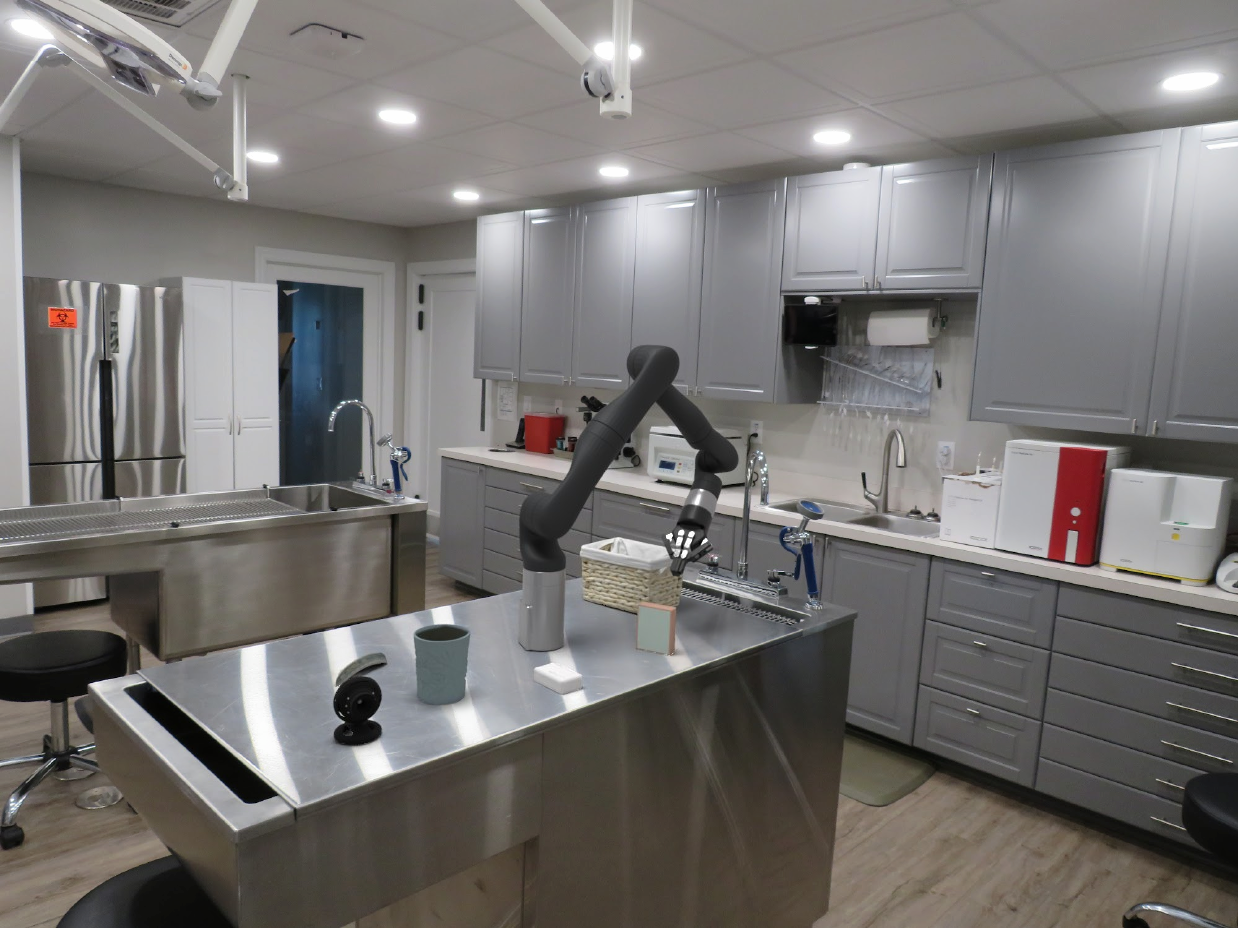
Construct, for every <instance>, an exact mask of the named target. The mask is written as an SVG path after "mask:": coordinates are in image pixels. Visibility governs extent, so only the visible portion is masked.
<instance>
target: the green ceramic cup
mask: <svg viewBox="0 0 1238 928" xmlns="http://www.w3.org/2000/svg"><path fill="white" fill-rule="evenodd" d="M470 639H471V630H470V629H469V628H467V627H465V626H463V625H458V624H450V623H449V624H447V623H441V624H440V623H439V624H438V623H437V624H430V625H426V626H423V627H420V628H418V629H416V630H415V631H414V632H413V644H414V645H413V646H414V653H415V659H414V661H415V674H416V690H417V691H416V693H417V698H418V700H419V701H421V702H423V703H424V704H427V705H432V706H433V705H434V706H441V705H443V706H445V705H450V704H455V703H457V702H460V701H461V700H462V699H463V698H464V697H465V695H466V686H467V685H466V684H467V680H466V677H467V673H468V663H469V660H468V657H469V647H470V642H471V640H470Z"/></svg>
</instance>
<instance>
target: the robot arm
mask: <svg viewBox="0 0 1238 928" xmlns="http://www.w3.org/2000/svg"><path fill="white" fill-rule="evenodd" d="M680 363H681V361H680V357H679V354H678V352H677V351H676V349H674V348H673V347H670V346H668V345H667V346H666V345H659V344H640V345H638V346H635V347H634V348H633V349H632V350H630V351H629V353H628V354H627V358H626V370H627V372H628V375H629V377H630V378H631V379H632V381H633V382H632V383H631V384H630V386H629V387H628V388H627V389H626V390H625V391H624V392H622V394H619V396H616V398H614V399H613V400H612V401H610V402H609V403H608V404H606V405H604V407H602V408H601V409H600V410H599V411H597V412H596V413H595V414H594V415H593V417H592V418H591V419H590V421H589V422H588V423H587V425H586V426H585V427H584V429H583V430H582V431H581V434H580V435H579V436H578V438H577V441H576V443H575V445H574V450H573V453H572V459H571V460H572V461H571V463H570V466H569V469H568V472H567V474H566V475H565V477H564V478H563V479H562V480H561V483H560V484H559V485H558V487H557V488H556V489H555V490H554V491H553V492H552V493H549V492H545V491H536V492H532V493H530V494H529V495H528V496H526V498H524V500H523V502H522V503H521V507H520V511H519V519H518V523H519V524H518V525H519V528H518V529H519V530H518V531H519V532H518V533H519V534H518V535H519V539H518V540H519V552H520V555H521V559H522V595H521V596H522V597H521V599H519V601H518V602H519V603H518V641H517V642H518V643H519V644H520V645H521V647H523V649H525V651H537V652H538V651H541V652H543V651H544V652H547V651H554V650H558V649H561V648H562V647H563V646H564V642H565V641H564V640H565V613H566V612H565V611H566V609H565V608H566V607H565V606H566V576H567V575H566V572H567V571H566V570H567V557H566V556H567V555H566V554H565V552H564V551H563V550H562V548H561V547H560V544H559V539H560V538H563V537H564V536H566V534H567V533H569V532H570V531H571V529H572V527H573V526H574V525H575V522H576V521H577V519H578V517H579V516H580V514H581V511H582V510H583V509H584V506H585V505H586V503H587V500H588V499H589V497H590V496H591V494H592V493H593V491H594V489H595V487H596V486H597V485H598V483H599V482H600V480H601V479H602V477H603V476H604V474H605V473H606V472H607V470H608V469H609V467H610V466H611V464H612V463H613V462H614V460H616V458H617V456H618V455H619V453H620V452H621V451H622V450H623V448H624V446H625V445H626V444H627V442H628V440H629V438H630V437H631V436H632V434H633V433H634V431H635V430H636V428H637V427H638V426H639V425H640V423H641V422H642V420H643V419H644V417H645V416H646V415H647V413H648V412H649V410H650V409H651V408H652V407H653V405H654V404H657V406H658V407H659V408H660V409H661V410H662V411H663V412H664V413H665V415H666V416H667V417H668V418H669V419H670V421H671V422H672V423H673V424H674V426H675V427H676V428H677V430H678V431H679V433H680V434H681V435H682V437H683V438H684V440H685V442H687V444H688V445H689V446H690V447H691V448H692V449H693V450H696V451H698V452H697V453H696V454H695V458H694V475H693V482H692V483H691V484H692V485H691V487H690V490H689V492H688V494H687V496H686V498H685V500H684V502H683V505H682V508H681V510H680V514H679V516H678V518H677V521H676V526H675V527H674V528H673V529H672V530H671V533H669V534H665V533H664V534H662V535H661V536H660V539H661V540H662V543H663V545H664V547H665V548H666V550H667V552H668V554H669V557H670V559H673V561H672V564H671V567H670V571H671V573H672V575H673V576H677V577H680V575H682V574H683V575H684V573H685V572H684V571H685V569H686V566H687V564H688V563H693V564H694V563H697V562H698V561H699V560H701V559H702V558H704V557H705V556H706V555H708V554H709V553H710V552H713V549H714V546H713V544H712V541H711V540H708V532H709V529H710V527H711V524H712V521H713V518H714V517H715V514H716V513H715V512H716V509H717V504H718V500H719V498H720V495H721V491H722V488H723V482H722V480H721V478H720V476H718V475H717V474H723V473H730V472H733V471H735V470H736V468H737V467H738V465H739V463H740V462H739V461H740V460H739V459H740V457H739V452H738V451H737V449H736V447H735V446H734V445H733V443H731V442H730V441H729V439H727V438H726V437H724V436H723V435H722V433H720V432H719V431H718V430H716V429H714V427H713V426H712V424H711V423H710V421H709V420H708V419H707V417H706V416H705V414H704V413H703V412H702V410H701V409H700V408H699V407H698V406H697V405H696V404H695V403H694V402H693V401H691V400H690V399H689V398H688V397H687V396H685V395H684V394H683V393H682V392H681V391H679V390H678V388H676V386H675V385H674V384H673V382H674V380H675V379H676V377H677V376H678V373H679V369H680V366H681V365H680ZM673 541H674V544H675V548H674V549H675V552H674V551H673V550H672V546H671V545H672V543H673Z"/></svg>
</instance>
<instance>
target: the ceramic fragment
mask: <svg viewBox="0 0 1238 928" xmlns="http://www.w3.org/2000/svg"><path fill="white" fill-rule="evenodd" d="M381 663H384V664H387V663H388V660H387V657H386V655H385V654H384V653H382V652H380V651H377V652H371V653H368V654H365V655H363V656H361V657H359V658H357V659H354V660H352V661H351V662H349V664H347V665H346V666H345V667H344V668H342V669H340V670H339V672H338V674H337V675H338V676H337V677H336V679H335V685H336V687H340V686H339V685H341V684H342V683H343V682H345V681H347V680H348V679H350V678H352V677H353V676H354V675H355V674H356V673H358V672H360V671H362V670H363V669H364V670H365V668H367V667H368V668H369V667H370V666H373V665H382V664H381Z"/></svg>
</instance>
